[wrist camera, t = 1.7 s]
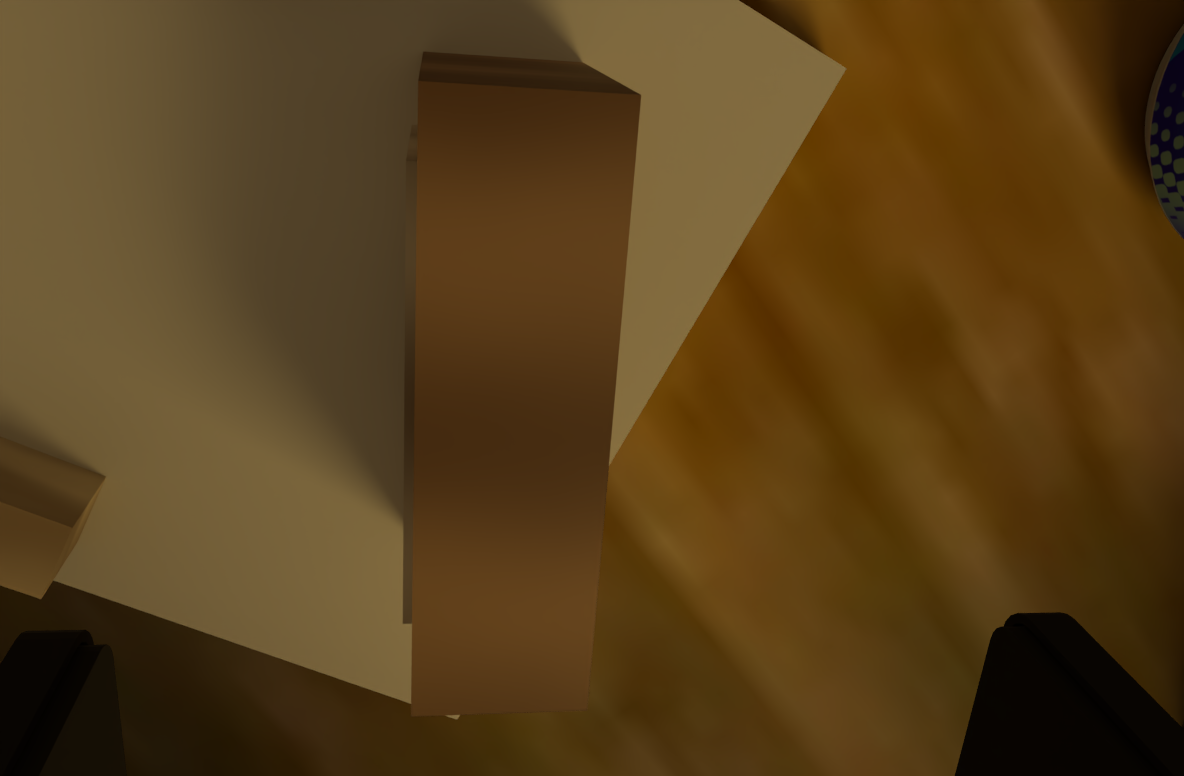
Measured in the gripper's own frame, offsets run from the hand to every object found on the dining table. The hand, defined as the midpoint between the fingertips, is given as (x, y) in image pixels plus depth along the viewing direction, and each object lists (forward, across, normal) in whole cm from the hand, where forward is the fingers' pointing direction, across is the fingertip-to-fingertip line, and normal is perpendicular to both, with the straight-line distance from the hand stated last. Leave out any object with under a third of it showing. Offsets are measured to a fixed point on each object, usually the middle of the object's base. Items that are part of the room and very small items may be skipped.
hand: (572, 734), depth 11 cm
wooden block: (+15, 0, 0) cm, 15 cm away
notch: (+15, +11, +5) cm, 19 cm away
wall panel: (+16, +4, -1) cm, 17 cm away
